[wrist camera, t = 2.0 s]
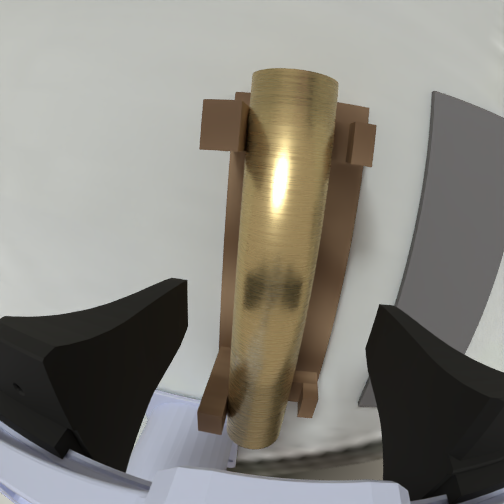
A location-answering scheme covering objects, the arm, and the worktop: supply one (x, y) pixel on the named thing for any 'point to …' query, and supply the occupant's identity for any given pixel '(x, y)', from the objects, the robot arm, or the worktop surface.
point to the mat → (455, 225)
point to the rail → (277, 243)
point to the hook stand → (329, 255)
